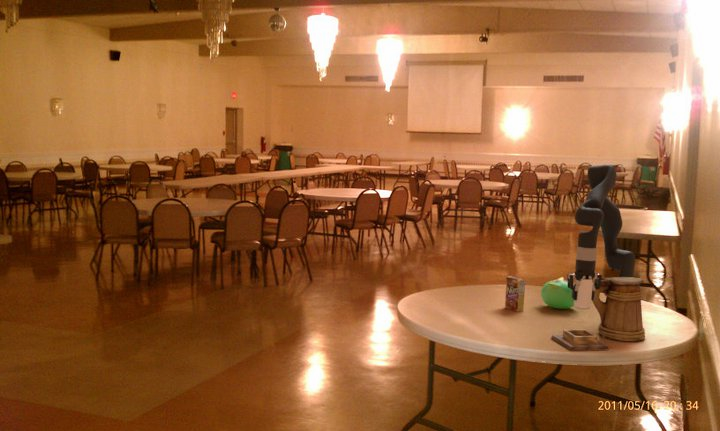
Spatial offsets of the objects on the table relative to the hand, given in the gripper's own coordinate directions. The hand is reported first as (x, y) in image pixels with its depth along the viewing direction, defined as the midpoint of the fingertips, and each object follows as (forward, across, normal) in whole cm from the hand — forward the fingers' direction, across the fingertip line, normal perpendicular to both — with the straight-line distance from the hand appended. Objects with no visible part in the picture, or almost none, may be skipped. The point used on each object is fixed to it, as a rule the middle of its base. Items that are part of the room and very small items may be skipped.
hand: (582, 299), depth 277 cm
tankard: (+18, -22, -10) cm, 30 cm away
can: (+3, 0, 0) cm, 3 cm away
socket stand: (+18, 0, 0) cm, 18 cm away
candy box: (+18, +4, -55) cm, 58 cm away
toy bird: (+18, -20, -56) cm, 62 cm away
